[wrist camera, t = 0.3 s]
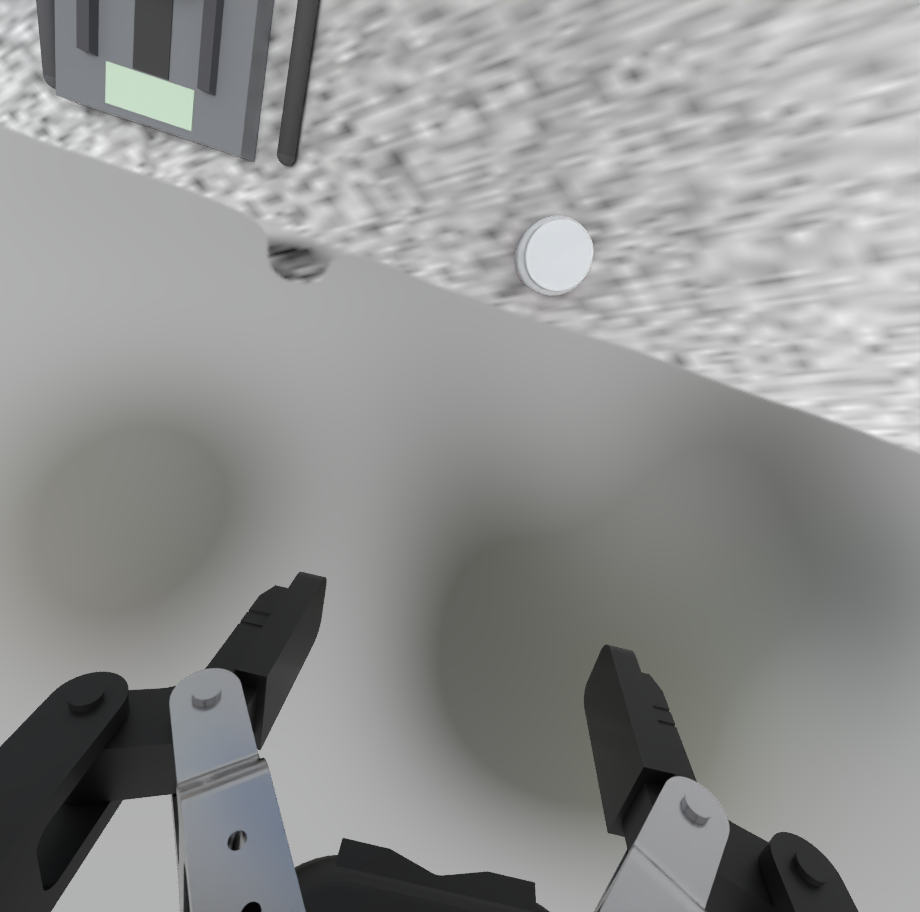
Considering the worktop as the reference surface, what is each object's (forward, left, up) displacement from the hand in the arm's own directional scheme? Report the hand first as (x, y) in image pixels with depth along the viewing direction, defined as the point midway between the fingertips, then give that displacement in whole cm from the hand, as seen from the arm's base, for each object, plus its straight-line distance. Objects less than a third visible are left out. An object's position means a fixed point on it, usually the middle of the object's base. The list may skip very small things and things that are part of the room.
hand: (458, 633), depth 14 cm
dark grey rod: (-21, -19, -28) cm, 40 cm away
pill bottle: (-11, +1, -29) cm, 31 cm away
